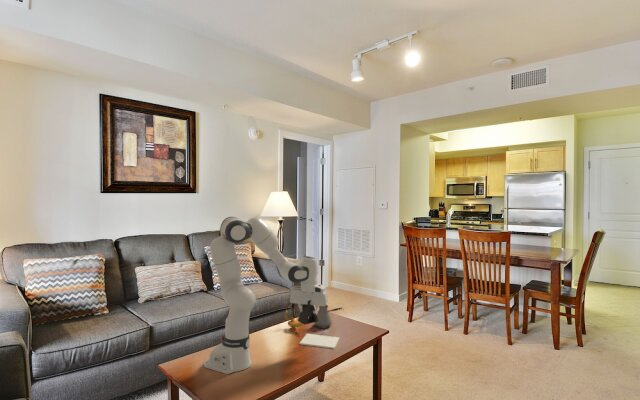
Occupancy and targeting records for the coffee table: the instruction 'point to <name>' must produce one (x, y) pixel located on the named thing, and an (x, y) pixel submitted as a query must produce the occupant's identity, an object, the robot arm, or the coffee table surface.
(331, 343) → the mat
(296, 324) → the magic lamp
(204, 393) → the coffee table surface
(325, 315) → the coffee pot
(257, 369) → the coffee table surface
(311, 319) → the phone stand
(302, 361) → the coffee table surface
